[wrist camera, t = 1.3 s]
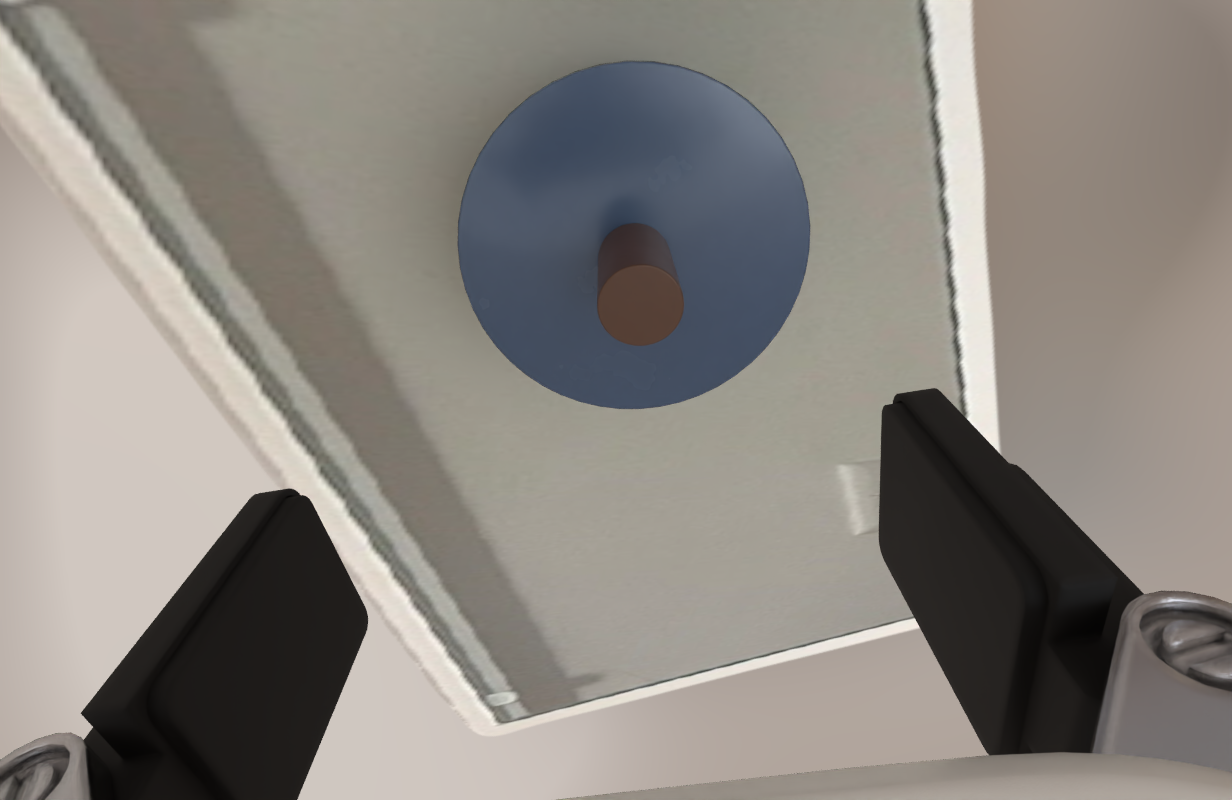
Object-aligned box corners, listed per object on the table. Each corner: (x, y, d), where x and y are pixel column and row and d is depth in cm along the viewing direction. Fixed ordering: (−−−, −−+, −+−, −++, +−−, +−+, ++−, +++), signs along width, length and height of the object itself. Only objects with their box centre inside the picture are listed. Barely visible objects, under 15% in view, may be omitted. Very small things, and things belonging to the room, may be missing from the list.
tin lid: (415, 101, 23) (358, 122, 18) (795, 23, 22) (856, 21, 17) (512, 418, 30) (492, 503, 25) (807, 369, 29) (854, 446, 24)
